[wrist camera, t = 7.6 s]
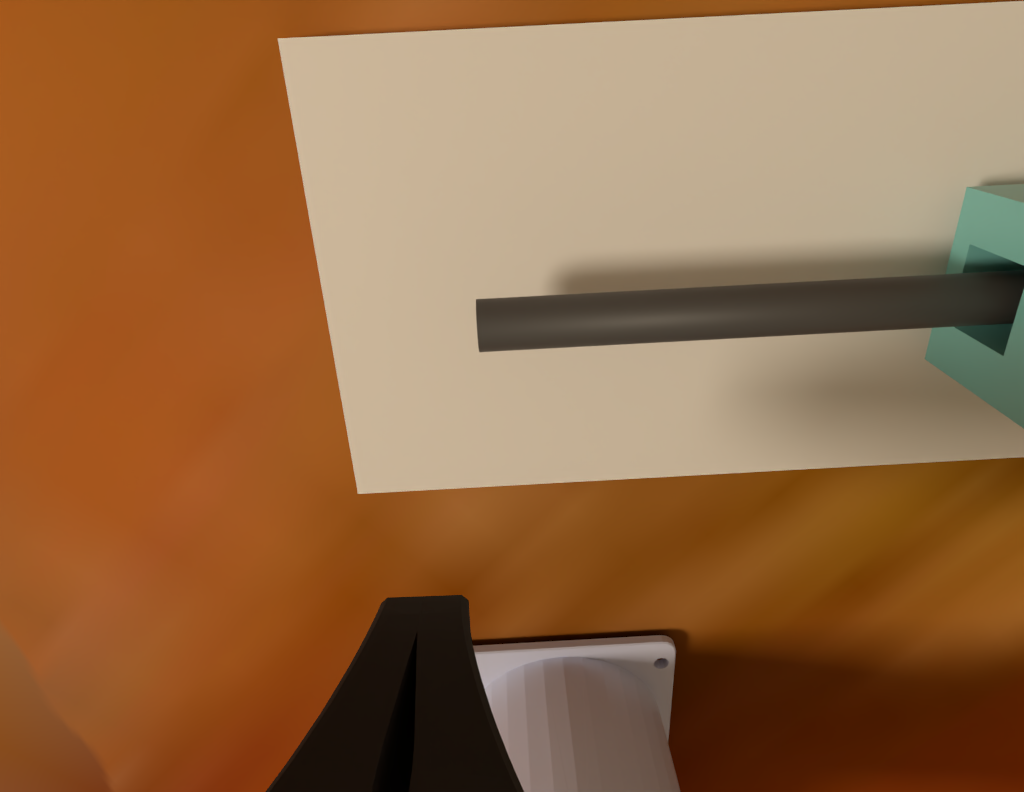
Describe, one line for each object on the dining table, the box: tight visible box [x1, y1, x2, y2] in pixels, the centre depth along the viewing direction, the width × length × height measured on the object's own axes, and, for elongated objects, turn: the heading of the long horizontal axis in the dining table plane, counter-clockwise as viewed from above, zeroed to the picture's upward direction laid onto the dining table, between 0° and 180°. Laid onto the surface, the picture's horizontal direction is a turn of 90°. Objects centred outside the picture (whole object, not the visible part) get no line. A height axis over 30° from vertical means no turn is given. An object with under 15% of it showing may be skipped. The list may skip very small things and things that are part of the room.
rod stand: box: [278, 1, 1024, 494], centre depth 15 cm, size 12×28×7 cm, turn 93°
